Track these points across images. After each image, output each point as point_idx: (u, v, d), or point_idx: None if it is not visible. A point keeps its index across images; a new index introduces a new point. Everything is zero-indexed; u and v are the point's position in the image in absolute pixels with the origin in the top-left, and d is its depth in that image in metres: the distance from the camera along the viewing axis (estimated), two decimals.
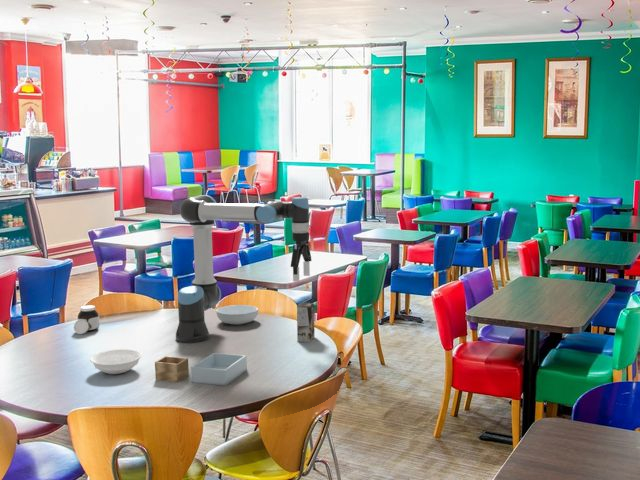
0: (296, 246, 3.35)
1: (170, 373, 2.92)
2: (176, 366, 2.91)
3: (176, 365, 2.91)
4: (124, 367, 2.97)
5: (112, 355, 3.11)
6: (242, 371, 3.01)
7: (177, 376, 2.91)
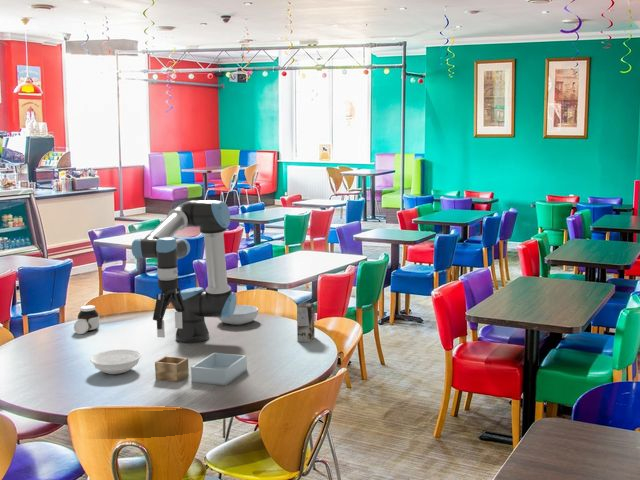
0: (160, 296, 2.85)
1: (170, 373, 2.92)
2: (176, 366, 2.91)
3: (176, 365, 2.91)
4: (124, 367, 2.97)
5: (112, 355, 3.11)
6: (242, 371, 3.01)
7: (177, 376, 2.91)
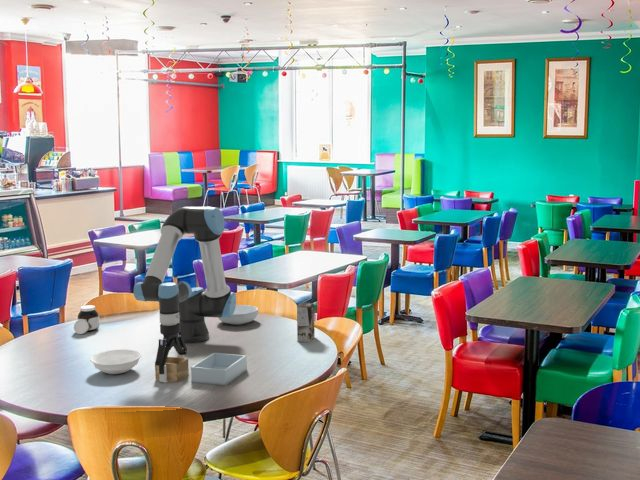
0: (162, 341, 2.88)
1: (170, 373, 2.92)
2: (176, 366, 2.91)
3: (176, 365, 2.91)
4: (124, 367, 2.97)
5: (112, 355, 3.11)
6: (242, 371, 3.01)
7: (177, 376, 2.91)
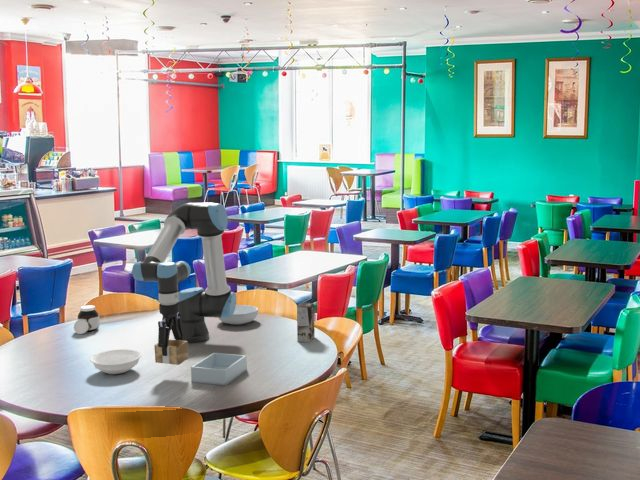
0: (161, 324, 2.87)
1: (170, 356, 2.92)
2: (175, 349, 2.90)
3: (176, 347, 2.90)
4: (124, 367, 2.97)
5: (112, 355, 3.11)
6: (242, 371, 3.01)
7: (177, 359, 2.91)
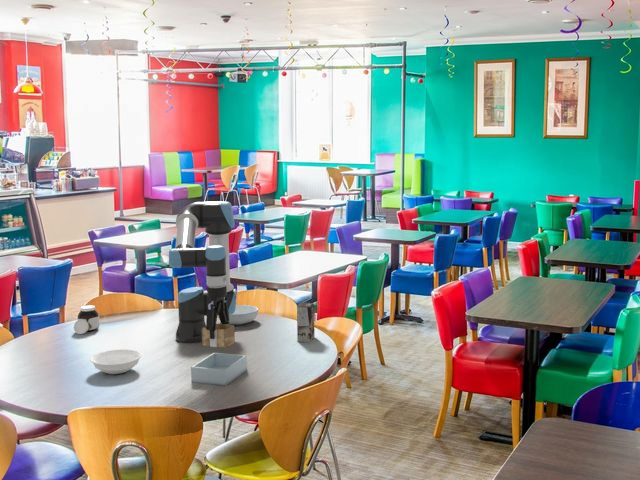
0: (210, 306, 2.87)
1: (217, 339, 2.91)
2: (223, 332, 2.90)
3: (223, 330, 2.90)
4: (124, 367, 2.97)
5: (112, 355, 3.11)
6: (242, 371, 3.01)
7: (224, 342, 2.90)
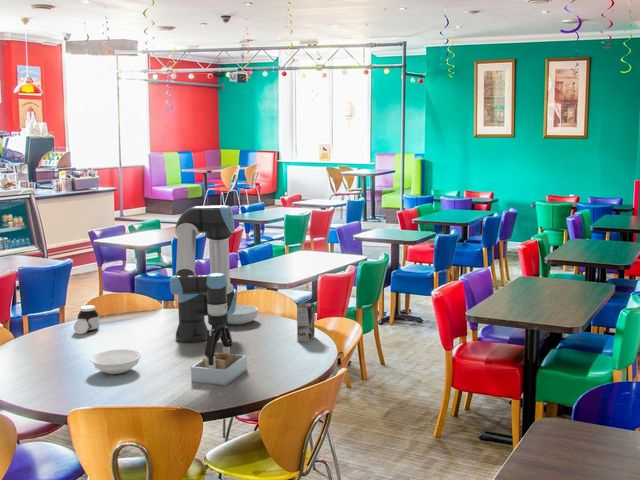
0: (211, 332, 2.89)
1: None
2: (224, 362, 2.92)
3: (225, 361, 2.92)
4: (124, 367, 2.97)
5: (112, 355, 3.11)
6: (242, 371, 3.01)
7: None
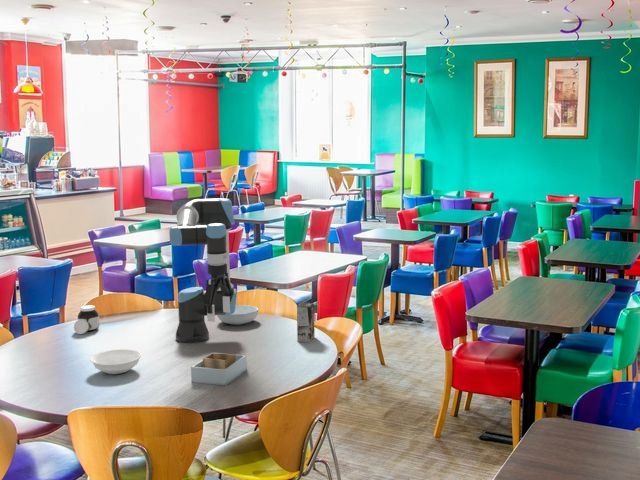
0: (210, 281, 2.90)
1: None
2: (224, 362, 2.92)
3: (225, 361, 2.92)
4: (124, 367, 2.97)
5: (112, 355, 3.11)
6: (242, 371, 3.01)
7: None
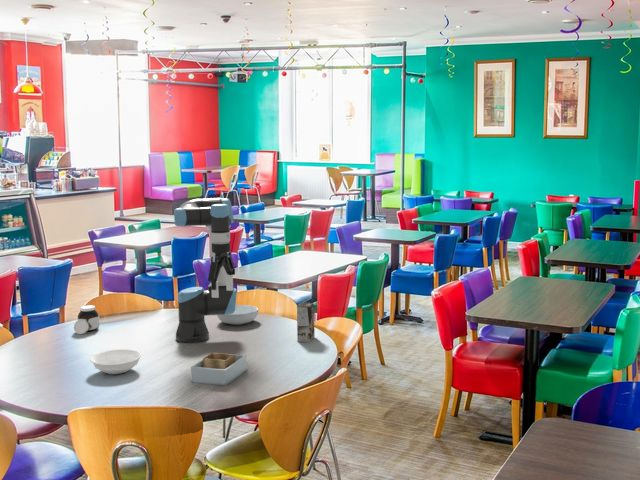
0: (214, 258, 3.03)
1: None
2: (224, 362, 2.92)
3: (225, 361, 2.92)
4: (124, 367, 2.97)
5: (112, 355, 3.11)
6: (242, 371, 3.01)
7: None
